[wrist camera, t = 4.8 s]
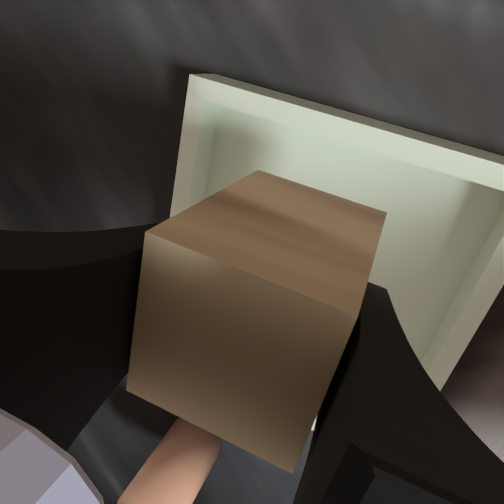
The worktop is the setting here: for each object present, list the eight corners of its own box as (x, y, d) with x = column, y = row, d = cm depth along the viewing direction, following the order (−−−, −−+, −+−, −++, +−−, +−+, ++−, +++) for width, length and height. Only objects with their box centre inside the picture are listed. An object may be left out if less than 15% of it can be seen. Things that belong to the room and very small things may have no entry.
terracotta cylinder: (226, 431, 27) (178, 517, 22) (216, 466, 28) (169, 554, 23) (177, 406, 28) (119, 484, 22) (170, 442, 29) (114, 522, 24)
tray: (547, 168, 15) (564, 182, 13) (397, 434, 22) (394, 468, 20) (214, 73, 18) (189, 74, 16) (171, 332, 25) (151, 353, 23)
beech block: (342, 324, 14) (292, 473, 9) (231, 279, 15) (126, 389, 9) (387, 212, 12) (358, 315, 7) (258, 169, 13) (145, 232, 8)
